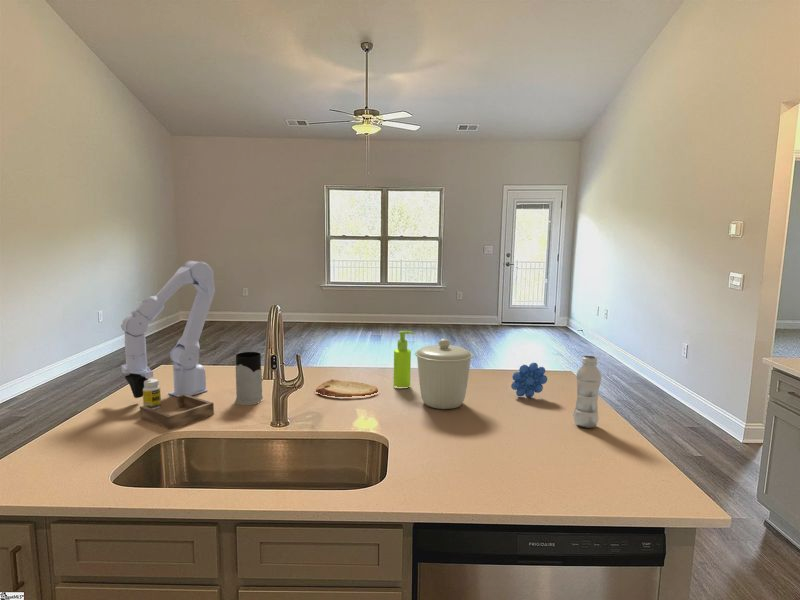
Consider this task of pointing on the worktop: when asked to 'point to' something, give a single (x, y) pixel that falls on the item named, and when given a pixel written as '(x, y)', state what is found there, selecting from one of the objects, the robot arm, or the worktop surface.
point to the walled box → (171, 421)
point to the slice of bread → (345, 389)
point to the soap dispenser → (402, 362)
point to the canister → (443, 374)
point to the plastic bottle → (587, 393)
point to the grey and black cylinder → (248, 378)
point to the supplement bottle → (152, 393)
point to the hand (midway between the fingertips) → (138, 396)
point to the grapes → (529, 380)
